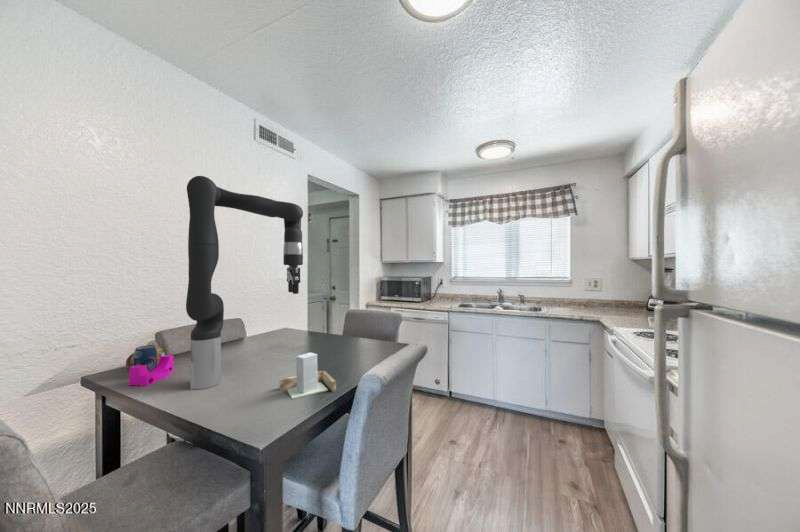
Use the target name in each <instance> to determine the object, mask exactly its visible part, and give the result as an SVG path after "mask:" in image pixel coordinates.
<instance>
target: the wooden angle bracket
mask: <svg viewBox="0 0 800 532" xmlns="http://www.w3.org/2000/svg"><path fill="white" fill-rule="evenodd" d="M318 382H323V383H324V384H325V386H327V387H326V388H327V389H328V390H329V389H330V391H331V392H332V393H334V392H337V380H335V378H333V377H332V376H331V375H330V374H329V373H328V372H327V371H326V370H318ZM278 383H279V385H278V386H279V391H283V390H287V389H291V388H295V387H297V375H295V376H290V377H284V378H279V382H278Z"/></svg>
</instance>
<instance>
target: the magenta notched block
mask: <svg viewBox="0 0 800 532" xmlns="http://www.w3.org/2000/svg"><path fill="white" fill-rule="evenodd" d="M171 371H172V372H174V355H171V354H168V355H167V354H166V355H164V356H161V357H160V361H159V363H158V364H157V367H156V368H155V369H154V370H153V371H151V372H149V371H148V370H147V367H146V365H136V366H133V367H130V368H129V372H128V373H129V374H128V377H129V379H128V386H129V385H142V386H141V387H148V386H150V385H152V384H151V383H153V384H154V382H155V383H157V382H159V381H161V380H163V379H165V378H164V377H166V378H167V376H168V377H170V376H171V373H172V372H171ZM169 375H170V376H169ZM162 378H163V379H162ZM160 379H161V380H160ZM158 380H159V381H158ZM156 381H157V382H156ZM149 384H150V385H149ZM147 385H148V386H147Z"/></svg>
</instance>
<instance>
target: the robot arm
mask: <svg viewBox="0 0 800 532" xmlns="http://www.w3.org/2000/svg"><path fill="white" fill-rule="evenodd" d="M186 193H187V199H188V207H189V223H188V237H187V239H188V240H187V241H188V242H187V244H188V245H187V252H188V253H187V254H188V256H187V257H188V283H187V284H188V285H187V286H188V287H187V293H186V301H185V312H186V314H187V316H188V317H189V318H190V319H191V320H193V321H196V324H195V326H194V327H193V329H192V330H191V332H190V364H189V365H190V366H189V368H190V369H189V375H190V376H189V386H190V388H189V389H190V391H191V390H204V389H210V388H212V387H216V386H218V385H219V384H221V382H222V329H223V327H224V315H225V313H224V312H225V307H224V306H225V305H224V301H223V299H222V297H221V296H220V295H218V294H216V293H212V280H213V277H214V276H213V275H214V273H215V270H216V268H217V265H218V261H219V258H220V257H219V255H220V254H219V253H220V252H219V251H220V247H219V244H220V243H219V236H218V235H219V234H218V229H217V224H216V219H215V208H216V207H221V208H229V209H235V210H239V211H243V212H247V213H252V214H256V215H259V216H263V217H268V218H279V219H283V225H284V234H283V249H282V250H283V251H282V252H283V265H284V266H288V267H287V268H286V282H287V285H288V286H287V290H288V293H292V294H293V295H297V294H299V292H300V291H299V290H300V289H299V286H300V283H301V268H300V267H299V266H303V264H304V247H303V231H302V218H303V216H304V211H303V209H302V207H301V206H300V205H298V204H296V203H293V202H287V201H279V200H275V199H271V198H267V197H263V196H260V195H253V194H246V193H245V194H244V193H238V192H233V191H230V190H227V189H223V188H222V187H220V186H217V185H216V183H215V182H214V181H213V180H212V179H210V178H209V177H207V176H204V175H195V176H193V177H192V178H191V179H189V181H188V182H187V185H186Z"/></svg>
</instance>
